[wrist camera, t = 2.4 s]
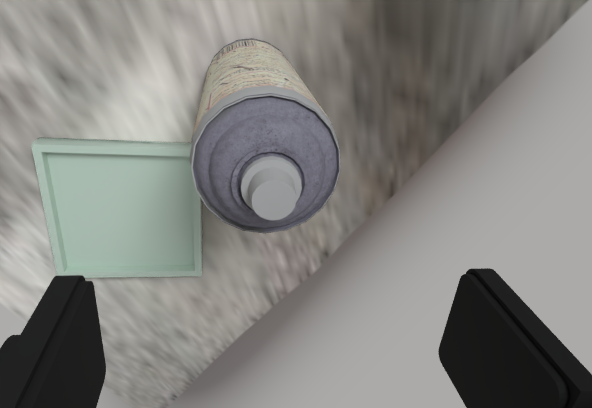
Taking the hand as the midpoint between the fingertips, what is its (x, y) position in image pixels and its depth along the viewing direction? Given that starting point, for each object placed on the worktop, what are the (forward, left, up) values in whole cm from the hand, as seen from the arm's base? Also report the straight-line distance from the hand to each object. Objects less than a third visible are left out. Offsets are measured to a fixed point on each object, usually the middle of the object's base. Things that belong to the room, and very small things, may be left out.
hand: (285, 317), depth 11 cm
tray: (+10, +11, -26) cm, 30 cm away
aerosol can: (0, 0, -26) cm, 26 cm away
